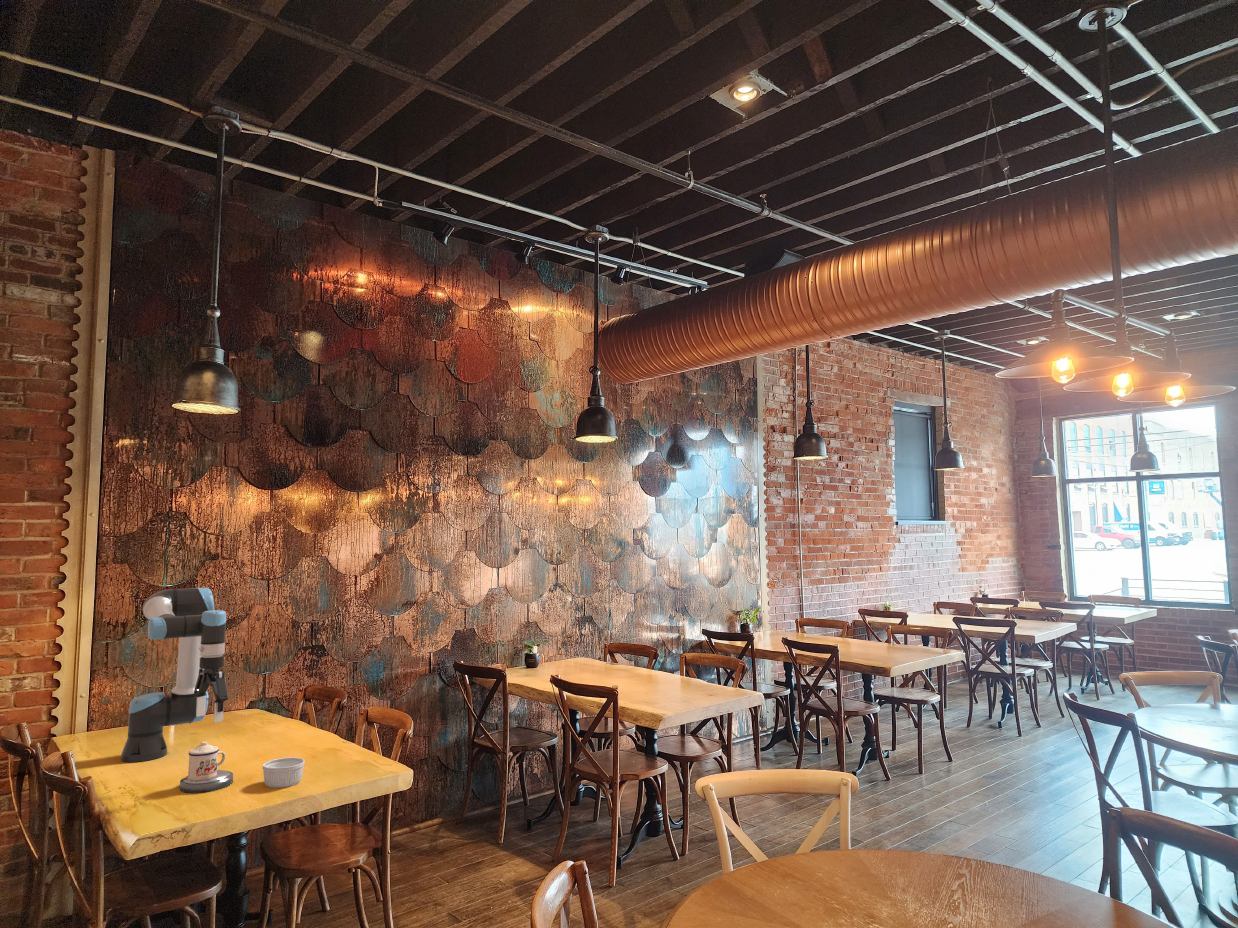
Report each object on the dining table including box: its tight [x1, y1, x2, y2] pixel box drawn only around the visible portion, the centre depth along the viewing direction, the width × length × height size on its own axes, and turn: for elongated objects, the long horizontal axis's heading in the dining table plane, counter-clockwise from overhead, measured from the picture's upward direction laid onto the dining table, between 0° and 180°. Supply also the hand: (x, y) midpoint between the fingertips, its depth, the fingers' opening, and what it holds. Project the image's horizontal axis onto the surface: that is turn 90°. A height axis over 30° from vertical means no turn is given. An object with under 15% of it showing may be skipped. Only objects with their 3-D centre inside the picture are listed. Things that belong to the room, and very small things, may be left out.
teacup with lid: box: [187, 741, 226, 781], centre depth 258 cm, size 12×9×12 cm
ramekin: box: [262, 756, 306, 789], centre depth 259 cm, size 13×13×7 cm
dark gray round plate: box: [179, 769, 234, 794], centre depth 257 cm, size 16×16×3 cm
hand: (209, 718), depth 259 cm, fingers open, 13 cm apart
